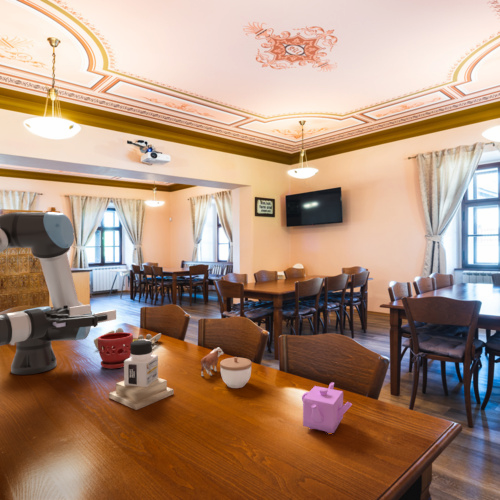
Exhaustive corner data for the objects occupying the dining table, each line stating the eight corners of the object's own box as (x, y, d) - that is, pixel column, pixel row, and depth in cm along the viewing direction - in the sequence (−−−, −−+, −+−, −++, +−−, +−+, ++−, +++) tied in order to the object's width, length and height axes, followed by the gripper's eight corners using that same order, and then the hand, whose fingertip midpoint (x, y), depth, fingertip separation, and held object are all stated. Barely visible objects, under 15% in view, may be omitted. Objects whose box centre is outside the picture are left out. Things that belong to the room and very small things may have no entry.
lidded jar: (258, 384, 124) (258, 357, 124) (235, 393, 116) (235, 364, 116) (236, 376, 131) (235, 350, 131) (213, 385, 123) (213, 357, 123)
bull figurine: (225, 367, 141) (225, 346, 141) (207, 379, 129) (207, 356, 129) (215, 365, 143) (215, 345, 143) (196, 377, 131) (196, 354, 130)
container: (146, 387, 110) (146, 344, 109) (123, 385, 111) (123, 343, 111) (158, 378, 117) (158, 338, 117) (136, 376, 119) (136, 337, 119)
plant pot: (138, 360, 150) (138, 331, 150) (124, 371, 137) (124, 339, 137) (108, 359, 151) (107, 330, 151) (91, 370, 138) (91, 339, 138)
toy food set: (93, 351, 164) (93, 334, 164) (113, 340, 182) (113, 325, 182) (146, 353, 161) (146, 336, 161) (161, 342, 180) (161, 326, 179)
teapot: (342, 450, 84) (342, 408, 84) (289, 436, 90) (289, 397, 90) (359, 418, 100) (359, 382, 99) (313, 407, 106) (313, 374, 106)
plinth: (108, 397, 113) (108, 383, 113) (146, 384, 124) (146, 370, 124) (136, 410, 105) (136, 394, 105) (173, 394, 116) (173, 380, 116)
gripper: (5, 332, 100) (80, 318, 117) (48, 349, 85) (127, 330, 102) (5, 305, 99) (80, 295, 116) (47, 317, 85) (127, 303, 102)
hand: (102, 311), depth 109 cm, fingers open, 13 cm apart
